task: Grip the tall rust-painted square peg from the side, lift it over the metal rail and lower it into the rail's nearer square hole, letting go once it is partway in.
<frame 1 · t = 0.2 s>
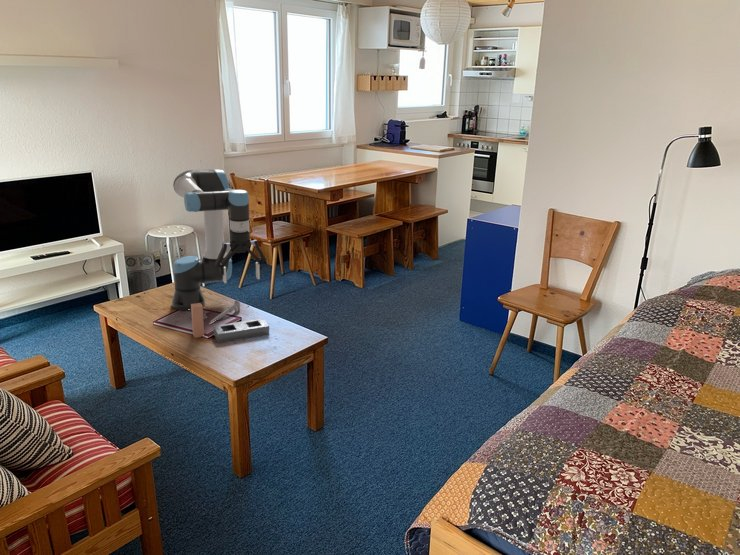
hand: (241, 280, 230), 27 cm above the table, tool pointing down, fingers open, 13 cm apart
rail: (241, 334, 246), on the table
peg: (198, 335, 243), on the table
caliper: (224, 318, 262), on the table
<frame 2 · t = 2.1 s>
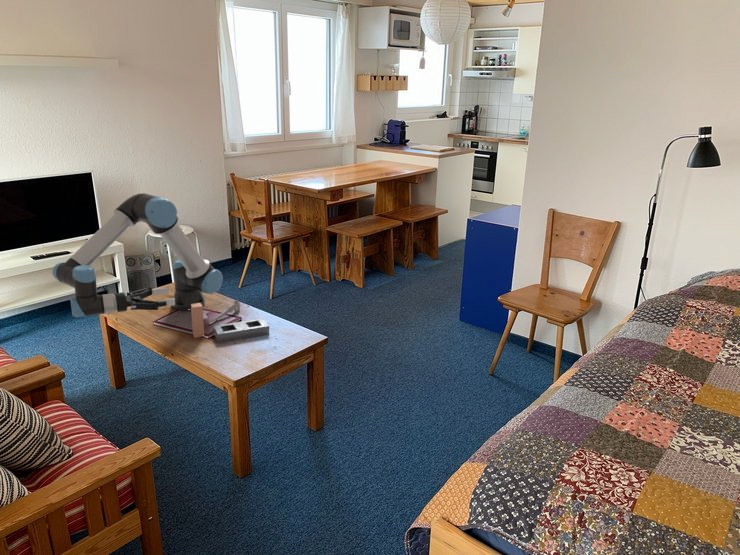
hand: (171, 295, 232), 20 cm above the table, tool horizontal, fingers open, 13 cm apart
nothing on the table moved.
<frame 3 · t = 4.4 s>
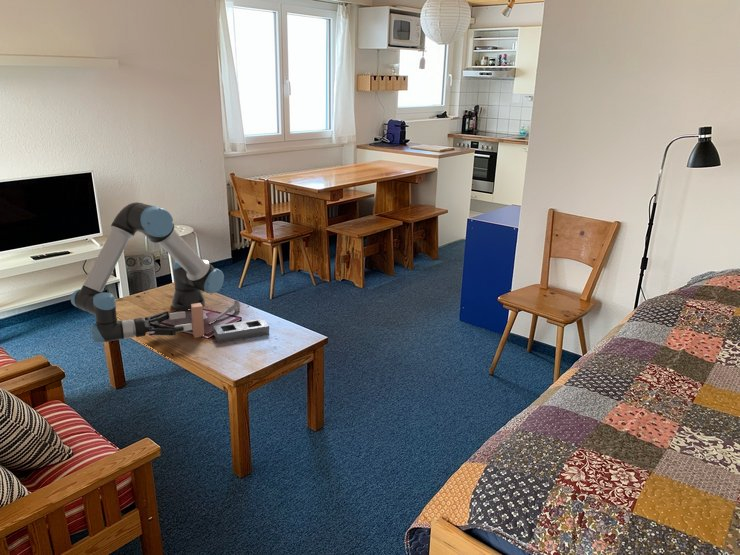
hand: (188, 320, 238), 8 cm above the table, tool horizontal, fingers open, 13 cm apart
nothing on the table moved.
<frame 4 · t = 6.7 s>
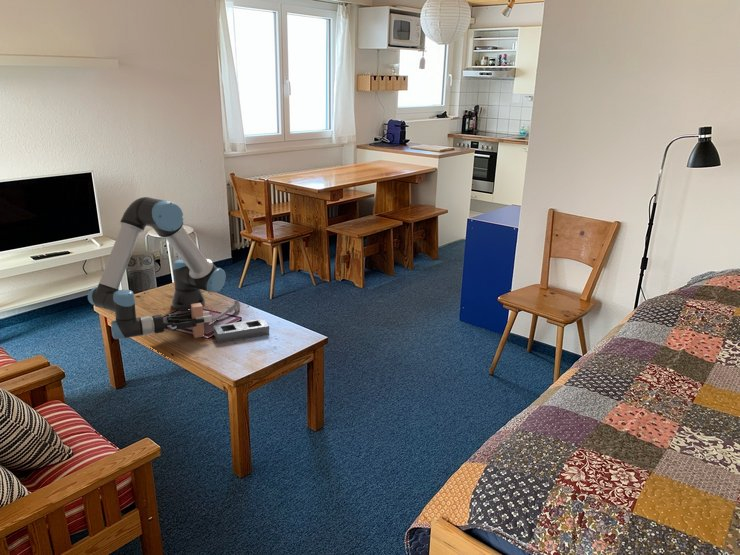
hand: (210, 316, 243), 8 cm above the table, tool horizontal, fingers closed on peg, 4 cm apart
peg: (198, 335, 243), on the table, touching gripper
everything else where it was.
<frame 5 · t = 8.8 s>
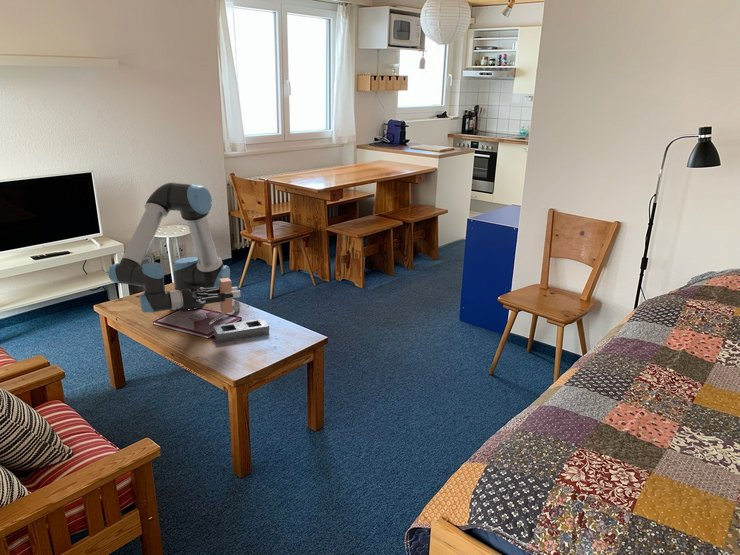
hand: (238, 291, 239), 20 cm above the table, tool horizontal, fingers closed on peg, 4 cm apart
peg: (226, 311, 239), point 12 cm above the table, touching gripper
everything else where it was.
when the fingers open (10 cm above the table, at t = 11.4 s): peg drops 2 cm, resting in rail.
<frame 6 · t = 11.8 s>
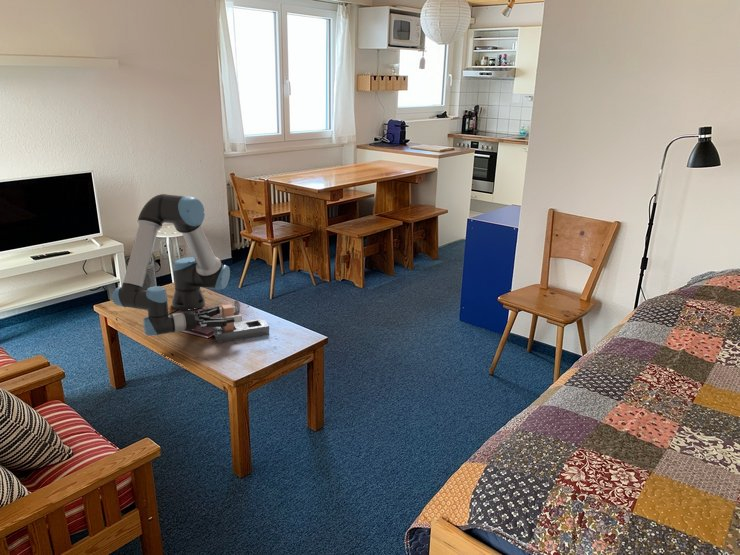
hand: (238, 313, 242), 10 cm above the table, tool horizontal, fingers open, 9 cm apart
peg: (228, 336, 243), resting in rail
everything else where it was.
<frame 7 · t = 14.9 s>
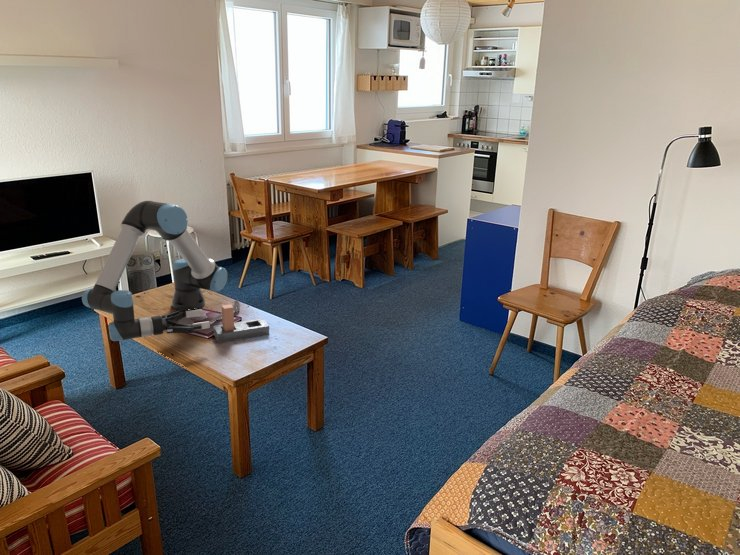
hand: (205, 318, 236), 10 cm above the table, tool horizontal, fingers open, 13 cm apart
nothing on the table moved.
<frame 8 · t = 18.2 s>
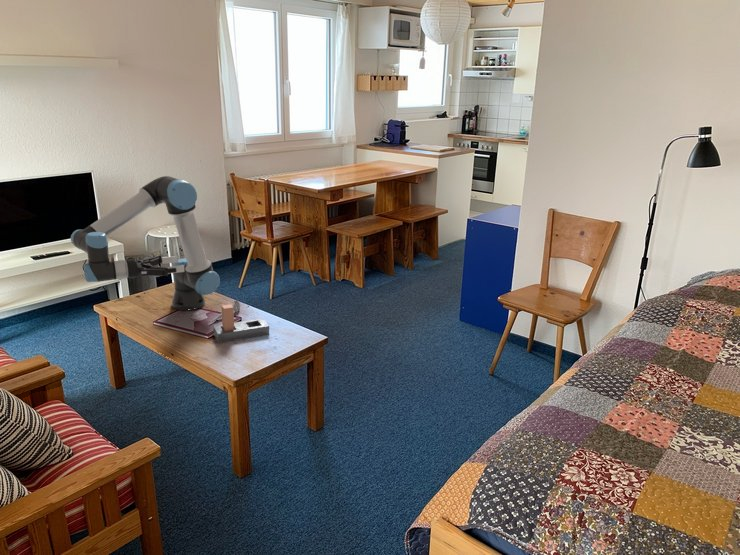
hand: (181, 263, 239), 30 cm above the table, tool horizontal, fingers open, 13 cm apart
nothing on the table moved.
at the end: peg 0.1 cm from the target spot on the rail, point 0.0 cm above the rail's base; peg tilted 0°; the gripper is holding nothing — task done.
